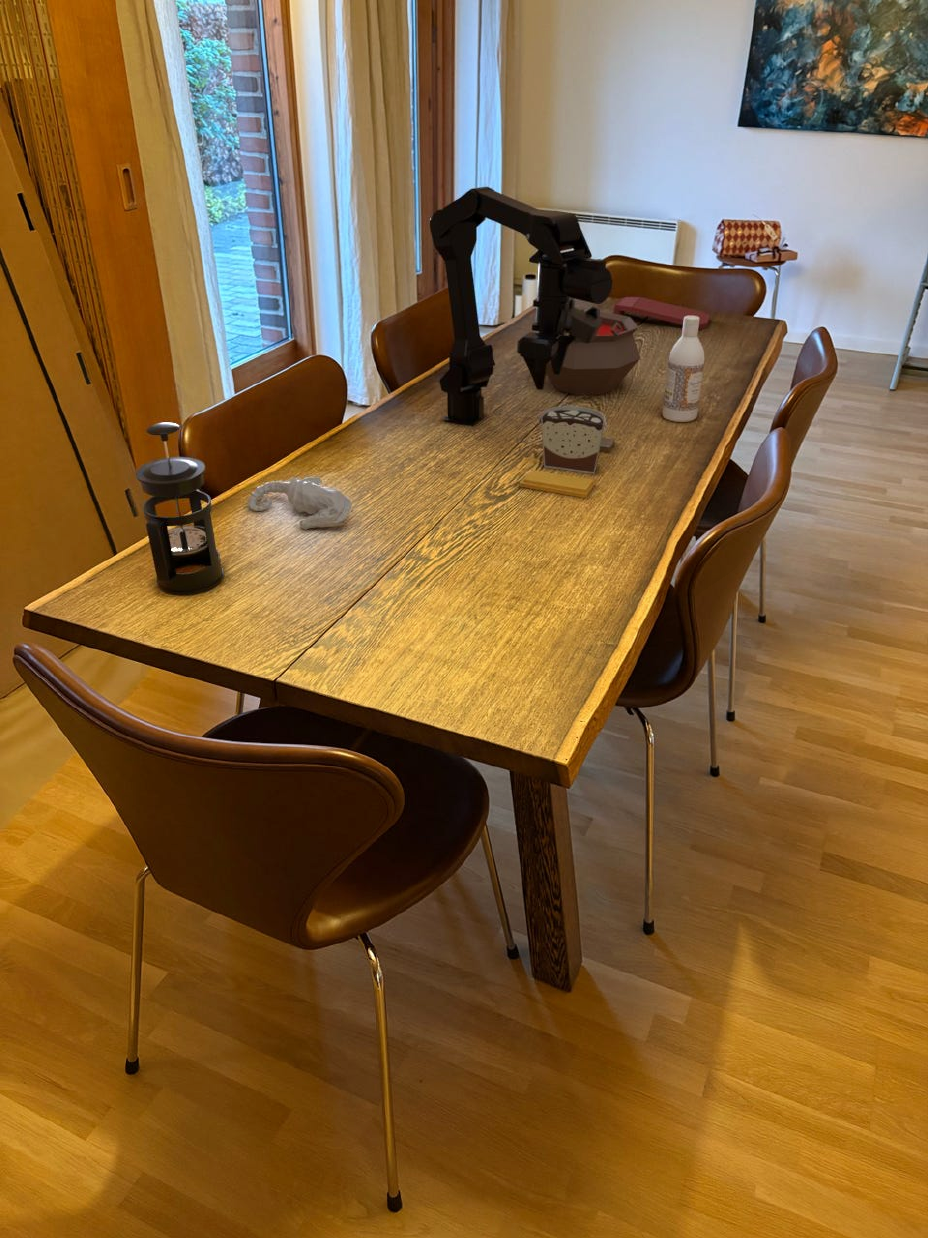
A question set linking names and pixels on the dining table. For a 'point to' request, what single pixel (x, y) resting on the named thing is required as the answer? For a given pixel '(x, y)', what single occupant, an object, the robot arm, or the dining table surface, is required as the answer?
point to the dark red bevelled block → (658, 310)
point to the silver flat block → (607, 444)
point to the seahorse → (307, 501)
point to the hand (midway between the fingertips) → (548, 381)
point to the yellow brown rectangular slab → (557, 483)
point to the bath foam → (684, 375)
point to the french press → (179, 522)
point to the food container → (572, 438)
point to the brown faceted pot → (599, 358)
